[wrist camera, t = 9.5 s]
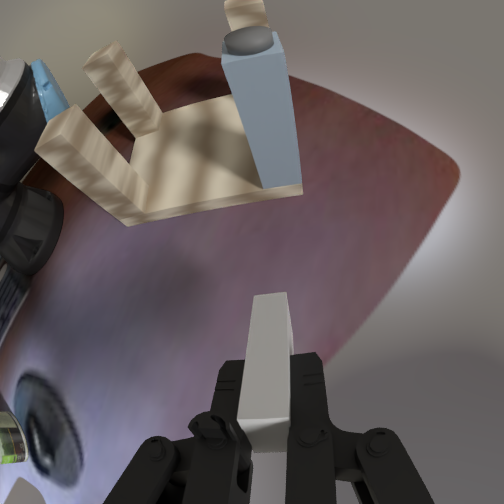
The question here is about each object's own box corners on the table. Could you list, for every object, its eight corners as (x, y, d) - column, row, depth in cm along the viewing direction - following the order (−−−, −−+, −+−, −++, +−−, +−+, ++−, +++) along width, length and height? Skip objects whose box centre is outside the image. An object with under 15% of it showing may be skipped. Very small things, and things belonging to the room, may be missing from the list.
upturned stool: (127, 226, 33) (33, 150, 17) (146, 128, 40) (92, 53, 24) (303, 194, 29) (285, 56, 14) (281, 95, 36) (259, -6, 20)
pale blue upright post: (263, 189, 28) (217, 51, 14) (260, 160, 30) (219, 31, 15) (302, 183, 27) (281, 39, 13) (296, 154, 29) (273, 20, 14)
